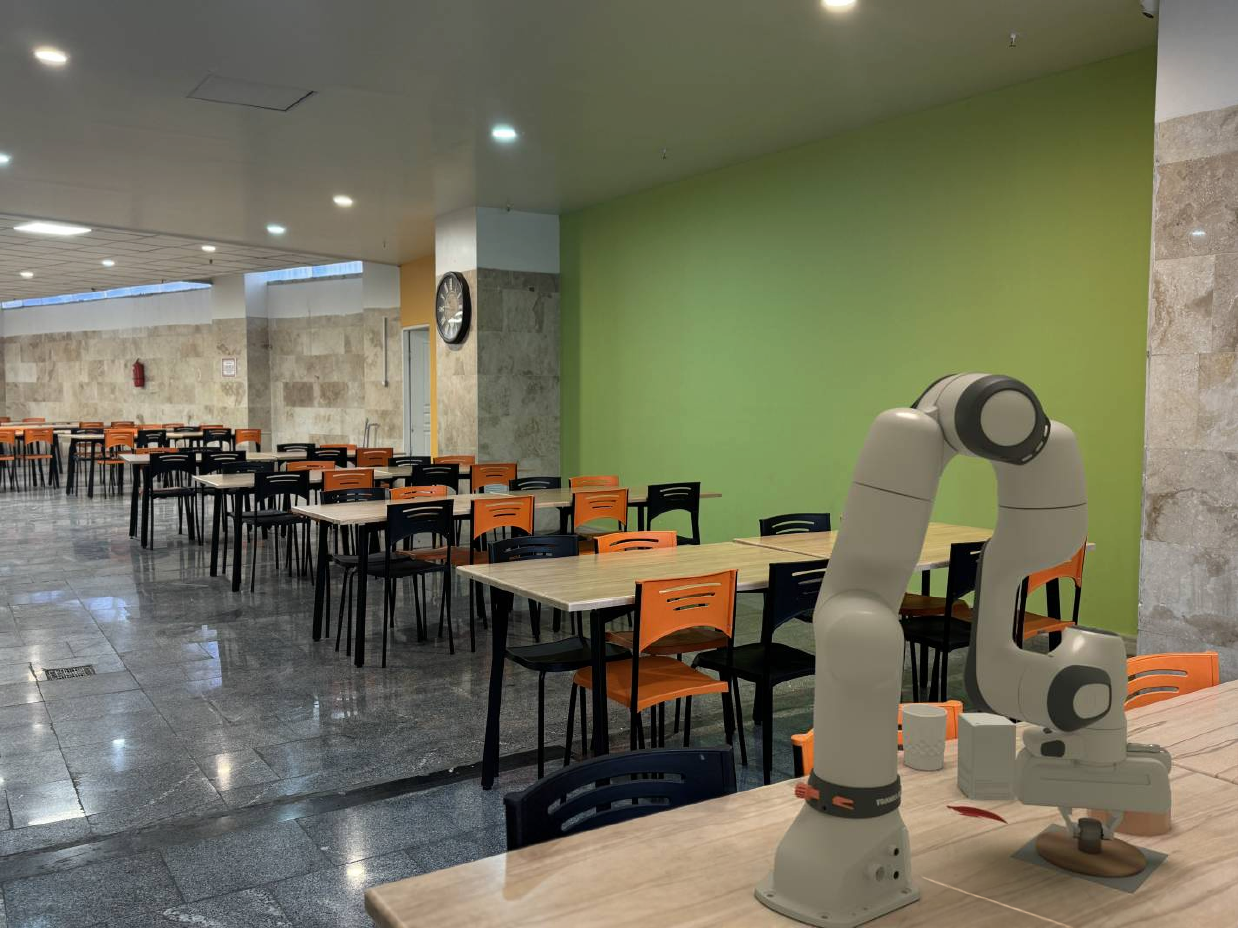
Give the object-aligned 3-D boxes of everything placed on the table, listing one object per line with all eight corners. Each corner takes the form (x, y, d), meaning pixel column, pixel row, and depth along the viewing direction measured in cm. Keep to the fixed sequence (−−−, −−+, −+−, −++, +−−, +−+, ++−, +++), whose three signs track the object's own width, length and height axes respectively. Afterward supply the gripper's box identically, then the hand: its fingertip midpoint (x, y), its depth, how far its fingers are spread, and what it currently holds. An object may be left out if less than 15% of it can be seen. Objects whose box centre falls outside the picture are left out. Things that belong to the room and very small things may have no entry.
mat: (1132, 896, 128) (1132, 893, 128) (1009, 858, 140) (1009, 856, 140) (1168, 857, 140) (1168, 854, 140) (1052, 825, 151) (1052, 823, 151)
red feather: (936, 809, 159) (936, 798, 159) (956, 804, 161) (956, 792, 161) (997, 836, 148) (997, 824, 148) (1018, 830, 150) (1018, 818, 150)
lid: (1127, 887, 130) (1128, 851, 130) (1019, 856, 139) (1020, 822, 139) (1158, 854, 140) (1159, 820, 140) (1056, 826, 150) (1056, 795, 150)
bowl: (1156, 844, 144) (1157, 803, 144) (1077, 823, 152) (1078, 784, 152) (1178, 822, 152) (1178, 783, 152) (1102, 803, 160) (1102, 766, 160)
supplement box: (1016, 802, 161) (1017, 724, 160) (970, 801, 161) (971, 724, 160) (1000, 785, 168) (1001, 711, 168) (956, 785, 168) (956, 711, 168)
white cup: (892, 759, 181) (892, 705, 181) (929, 755, 183) (929, 701, 183) (917, 774, 173) (918, 717, 173) (955, 769, 176) (956, 713, 175)
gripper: (1163, 737, 140) (1161, 834, 141) (1011, 730, 144) (1009, 823, 145) (1180, 752, 134) (1178, 852, 135) (1020, 743, 138) (1019, 841, 138)
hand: (1089, 837), depth 140 cm, fingers closed on lid, 3 cm apart
